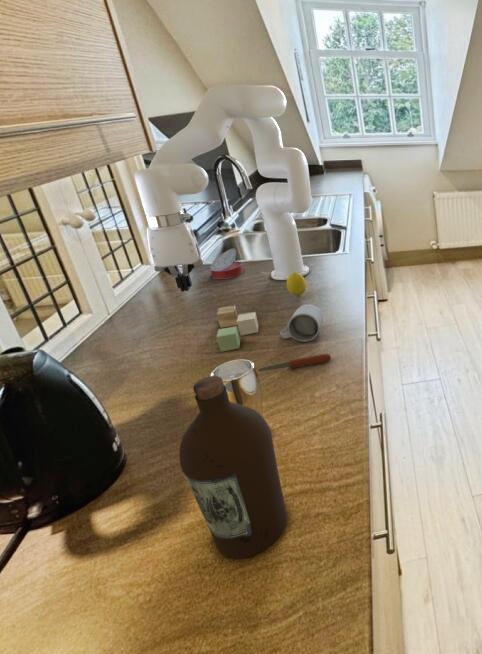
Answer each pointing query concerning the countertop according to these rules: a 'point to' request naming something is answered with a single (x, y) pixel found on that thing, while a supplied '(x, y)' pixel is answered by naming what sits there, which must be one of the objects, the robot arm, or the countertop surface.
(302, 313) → the ceramic mug
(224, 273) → the canned food
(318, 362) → the kitchen knife
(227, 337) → the sage block
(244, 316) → the cream block
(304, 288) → the lemon
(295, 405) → the countertop surface
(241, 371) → the beer glass
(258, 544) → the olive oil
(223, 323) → the birch block
